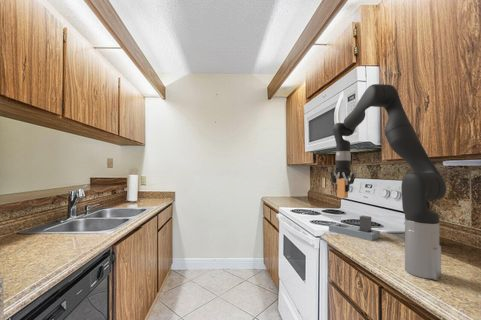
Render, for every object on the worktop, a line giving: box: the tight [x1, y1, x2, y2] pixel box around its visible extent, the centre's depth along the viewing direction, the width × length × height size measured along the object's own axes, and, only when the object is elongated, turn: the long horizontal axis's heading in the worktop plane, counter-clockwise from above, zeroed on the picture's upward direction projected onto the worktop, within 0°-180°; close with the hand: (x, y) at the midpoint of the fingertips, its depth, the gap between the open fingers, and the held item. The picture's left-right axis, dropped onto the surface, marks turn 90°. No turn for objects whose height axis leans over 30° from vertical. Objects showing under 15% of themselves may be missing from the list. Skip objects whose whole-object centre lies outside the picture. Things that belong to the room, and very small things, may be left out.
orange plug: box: [336, 178, 349, 199], centre depth 132 cm, size 4×4×10 cm
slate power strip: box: [328, 215, 381, 242], centre depth 127 cm, size 22×10×10 cm, turn 40°
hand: (342, 191), depth 132 cm, fingers closed on orange plug, 4 cm apart
